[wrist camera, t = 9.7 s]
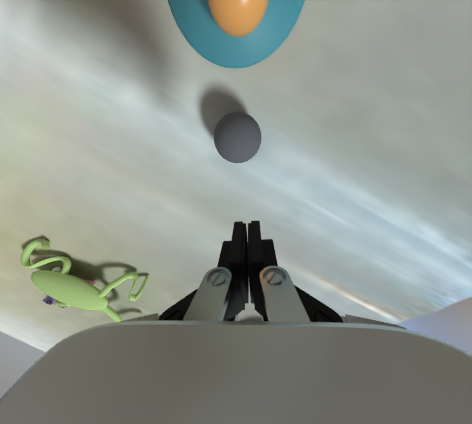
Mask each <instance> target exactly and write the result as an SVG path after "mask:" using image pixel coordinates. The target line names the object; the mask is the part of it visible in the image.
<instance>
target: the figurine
mask: <svg viewBox="0 0 472 424" xmlns="http://www.w3.org/2000/svg"><path fill="white" fill-rule="evenodd" d="M39 244H42V248H43V249H44V250H48V249H49V248H50V244H49V241H47V240H45V239H36V240H34V241H32V242H30V243H29V244H28V245H27V246H26V248H25V249H24V250H23V253H22V255H21V264H22V266H24V267H26V268H35V267H39V266H42V265H44V264H47V263H49V262H53V261H57V260H62V262H63V268H61V267H56V268H54V269H52V270H38V271H36V272H33V273H32V275H31V280H32V282H33V283H34V284H35V286H36V287H37V288H39V289H40V290H41V291H43V292H44V293H46V294H47V296H46V297H45V298H44V300H43V301H44V302H46V303H47V304H55V305H58V306H59V307H62V308H64V307H67V306H70V305H71V306H73V307H78V308H82V309H87V310H99V309H100V310H102V311H103V312H105V313H106V314H107V315H108V316H110V317H111V318H112V319H113V320H114V321H115V322H120V321H122V318H121V317H120V315H119V314H118V313H117V312H115V311H114V310H113V309H112V308H111V307H110V306H108V299H107V298H106V296H105V295H106V294H107V293H108V292H109V291H110V290H111V289H112V288H114V287H116V286H117V285H119V284H120V283H122V282H123V281H125V280H126V279H129V278H132V279H134V283H133V286H132V289H131V291H130V294H129V300H131V301H136V300H137V299H138V298H139V296H140V294H141V293H142V291H143V288H144V285H145V282H146V280H147V278H148V276H149V274H148V275H147V276H146V278H145V280H144V282H143V284H142V286H141V288H140V289H139V291H138V292H137V293H136V295H134V294H132V290H133V288H134V286H135V285H136V283H137V281H138V273H134V272H129V273H126V274H124V275H122V276H121V277H119V278H117V279H116V280H114V281H112V282H111V283H109V284H108V285H107V286H105V287H104V288H103V289H102V291H100V290H99V289H97V288H96V287H94V286H93V284H95V282H94V281H93V280H89V281H84V280H82V279H80V278H78V277H75V276H72V275H69V274H68V273H69V271H70V269H71V261H70V259H69V258H67V257H63V256H59V257H51V258H48V259H45V260H42V261H40V262H38V263H36V264H34V265H31V263H30V255H31V253H32V251H33V250H34V248H35V247H36V246H38V245H39Z"/></svg>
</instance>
